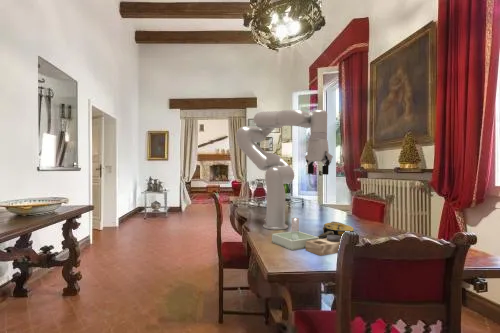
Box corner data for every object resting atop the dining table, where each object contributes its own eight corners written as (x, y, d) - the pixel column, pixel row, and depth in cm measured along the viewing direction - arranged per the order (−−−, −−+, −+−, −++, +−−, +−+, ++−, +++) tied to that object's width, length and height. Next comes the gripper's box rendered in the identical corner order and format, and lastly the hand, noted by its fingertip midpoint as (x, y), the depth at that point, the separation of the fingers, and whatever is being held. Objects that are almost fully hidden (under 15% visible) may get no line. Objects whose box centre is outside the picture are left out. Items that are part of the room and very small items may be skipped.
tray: (271, 242, 131) (271, 233, 131) (297, 238, 138) (297, 230, 138) (292, 250, 119) (292, 241, 119) (318, 246, 126) (319, 237, 126)
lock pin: (289, 242, 129) (290, 218, 129) (295, 241, 131) (295, 217, 131) (294, 243, 127) (294, 219, 127) (300, 243, 128) (300, 218, 128)
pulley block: (306, 225, 136) (333, 216, 160) (303, 238, 137) (331, 227, 161) (337, 235, 128) (360, 224, 152) (334, 249, 128) (358, 236, 152)
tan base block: (320, 255, 113) (320, 241, 113) (305, 250, 120) (305, 236, 120) (347, 250, 120) (348, 237, 120) (332, 245, 127) (332, 233, 127)
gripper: (300, 137, 152) (299, 173, 152) (325, 135, 137) (325, 174, 137) (312, 138, 155) (311, 173, 156) (338, 136, 140) (337, 174, 141)
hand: (317, 174), depth 146 cm, fingers open, 9 cm apart
